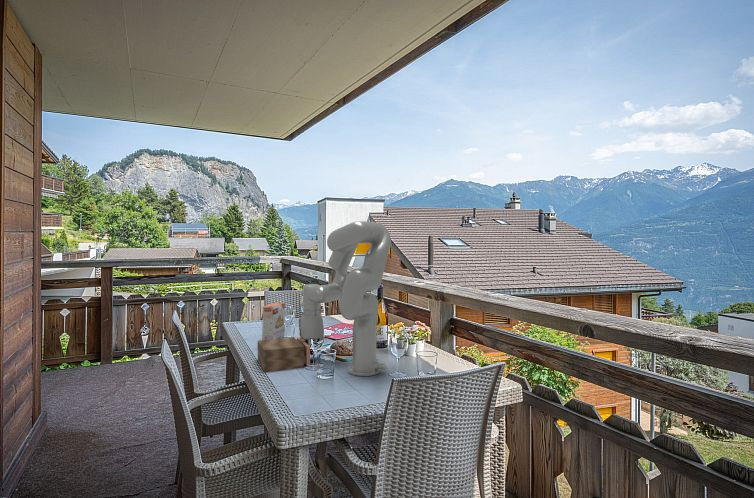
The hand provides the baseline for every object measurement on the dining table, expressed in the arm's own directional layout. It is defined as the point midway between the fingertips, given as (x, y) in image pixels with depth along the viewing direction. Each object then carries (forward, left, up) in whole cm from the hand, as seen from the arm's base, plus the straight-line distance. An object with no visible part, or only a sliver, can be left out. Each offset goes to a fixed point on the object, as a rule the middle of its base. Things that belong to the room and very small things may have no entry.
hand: (311, 354), depth 188 cm
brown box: (+11, +9, -3) cm, 14 cm away
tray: (+9, +7, -2) cm, 12 cm away
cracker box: (+28, -16, -3) cm, 32 cm away
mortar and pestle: (+13, -26, -3) cm, 29 cm away
